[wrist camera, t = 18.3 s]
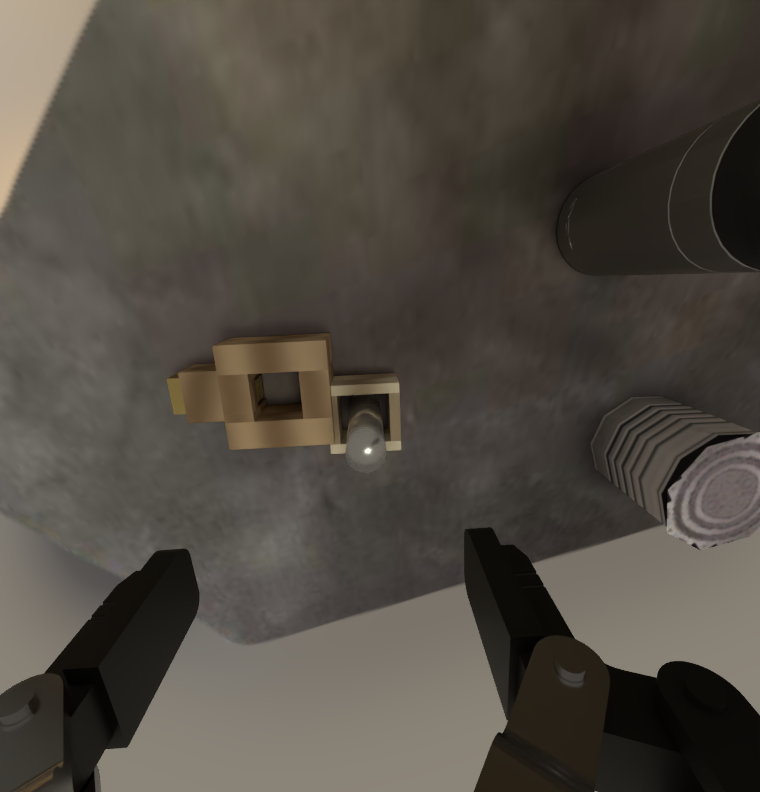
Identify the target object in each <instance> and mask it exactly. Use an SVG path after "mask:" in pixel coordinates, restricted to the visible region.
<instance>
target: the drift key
mask: <svg viewBox="0 0 760 792" xmlns="http://www.w3.org/2000/svg"><path fill="white" fill-rule="evenodd" d="M254 378H255V385H256V392H257V399H258V401H260V400H261V399H262V397H263V396H264V391H263V384H262V376H261V375H257V376H255V377H254ZM167 383H168V388H169V393H170V397H171V402H172V407H173V412H174V414H186V411H185V406H184V401H183V396H182V391H181V386H180V381H179V376H178V373H177V374H175V375H173V376H171V377H169V378H167Z"/></svg>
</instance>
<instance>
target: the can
mask: <svg viewBox="0 0 760 792" xmlns="http://www.w3.org/2000/svg"><path fill="white" fill-rule="evenodd" d="M590 446H591V451H592V456H593V460H594V465H595V469H596V470H597V471H598V472H599V473H601V474H602V475H603V476H604V477H606V478H607V479H608V480H609V481H610V482H612V483H613V484H614V485H615V486H617V487H618V488H619V489H620V490H622V491H623V492H624V493H625V494H627V495H628V496H629V497H630V498H632V499H633V500H634V501H635V502H636V503H638V504H639V505H640V506H641V507H643V508H644V509H645V510H646V511H648V512H649V513H650V514H651V515H653V516H654V517H655V518H656V519H658V520H659V521H660V522H661V523H662V524H664V525H665V526H666V527H667V533H669V534H671V535H673V536H674V537H676V538H678V539H680V540H682V541H684V542H686V543H688V544H690V545H692V546H693V547H695V548H697V549H699V550H703V549H707V548H710V547H714V546H717V545H721V544H725V543H729V542H732V541H735V540H738V539H742V538H746V537H749V536H750V535H751V534H752V533H753V532H754V531H756V530H757V529H758V528H759V527H760V432H759V433H757V432H754V431H751V430H749V429H746V428H744V427H741V426H738V425H736V424H733V423H730V422H728V421H725V420H723V419H720V418H717V417H715V416H712V415H710V414H707V413H704V412H702V411H699V410H697V409H694V408H691V407H689V406H686V405H683V404H681V403H678V402H676V401H673V400H670V399H668V398H665V397H663V396H652V397H631V398H629V399H628V400H626V401H625V402H623V403H622V404H620V405H619V406H617V407H616V408H614V409H613V410H611V411H610V412H608V413H607V414H605V415H604V416H603V417H602V419H601V422H600V424H599V426H598V428H597V430H596V432H595V434H594V436H593V438H592V440H591V442H590Z"/></svg>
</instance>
